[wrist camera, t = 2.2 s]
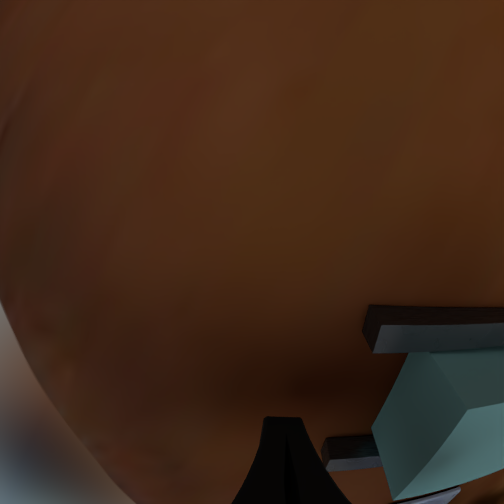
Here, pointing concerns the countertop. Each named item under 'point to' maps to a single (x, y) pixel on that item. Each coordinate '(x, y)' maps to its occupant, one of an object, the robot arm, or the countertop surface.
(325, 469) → the robot arm
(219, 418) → the countertop surface
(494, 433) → the teal block
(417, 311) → the parallel guide rails
